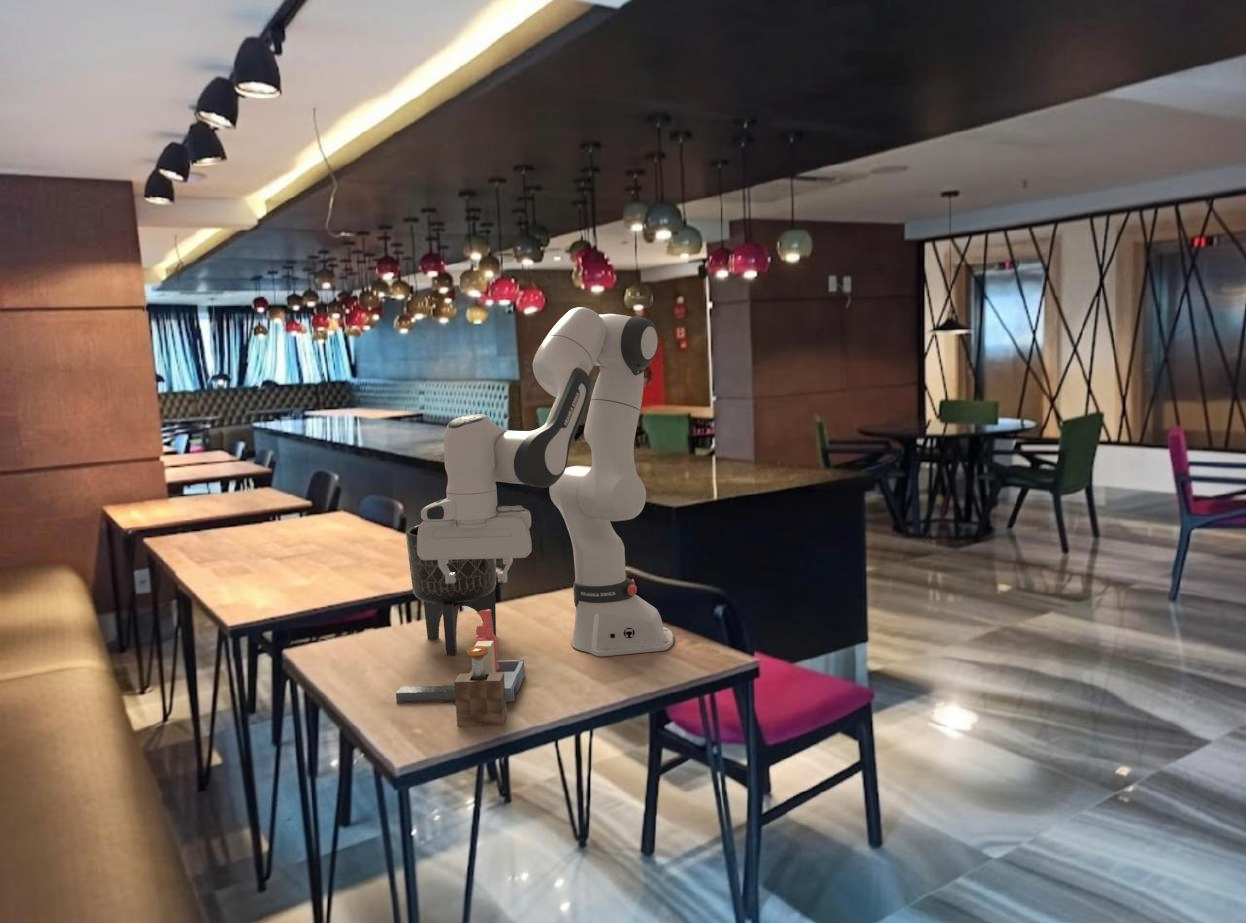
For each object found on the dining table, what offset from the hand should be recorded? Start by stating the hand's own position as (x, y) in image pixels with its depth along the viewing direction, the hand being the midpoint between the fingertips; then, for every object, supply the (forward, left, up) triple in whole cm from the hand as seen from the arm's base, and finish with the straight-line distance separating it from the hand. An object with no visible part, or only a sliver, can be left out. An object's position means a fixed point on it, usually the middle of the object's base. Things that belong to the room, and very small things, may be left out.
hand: (476, 582), depth 161 cm
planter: (+13, -38, -24) cm, 47 cm away
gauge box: (-1, +5, -24) cm, 24 cm away
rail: (+6, -5, -24) cm, 25 cm away
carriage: (0, -9, -23) cm, 25 cm away
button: (-1, +5, -17) cm, 18 cm away
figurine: (+2, -12, -24) cm, 27 cm away
